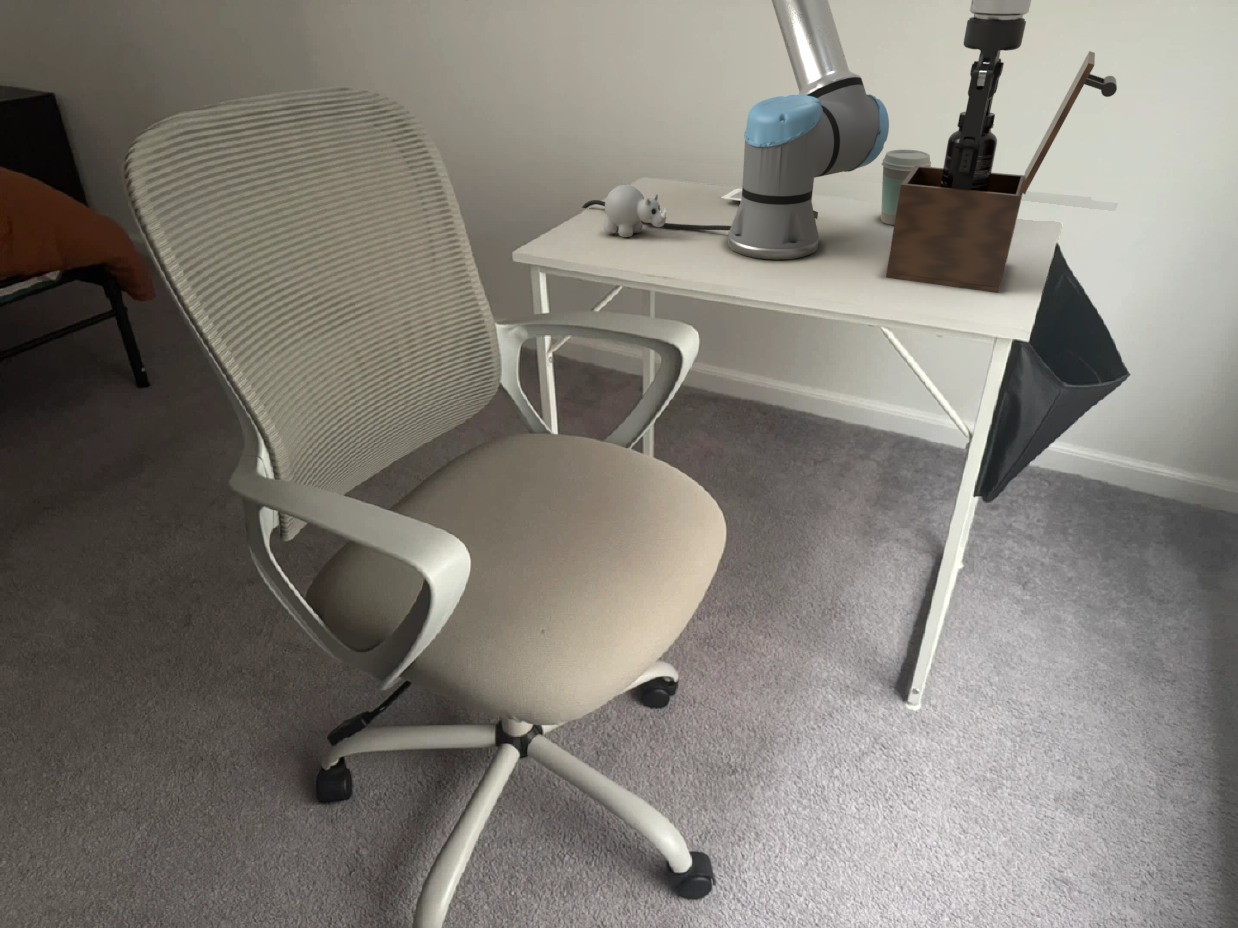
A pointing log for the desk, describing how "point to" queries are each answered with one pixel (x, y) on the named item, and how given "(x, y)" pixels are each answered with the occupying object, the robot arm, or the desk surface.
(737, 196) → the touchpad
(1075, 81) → the box lid
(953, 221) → the storage box
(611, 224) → the toy rhinoceros
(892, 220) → the coffee cup
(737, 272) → the desk surface
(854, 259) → the desk surface
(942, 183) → the supplement bottle
